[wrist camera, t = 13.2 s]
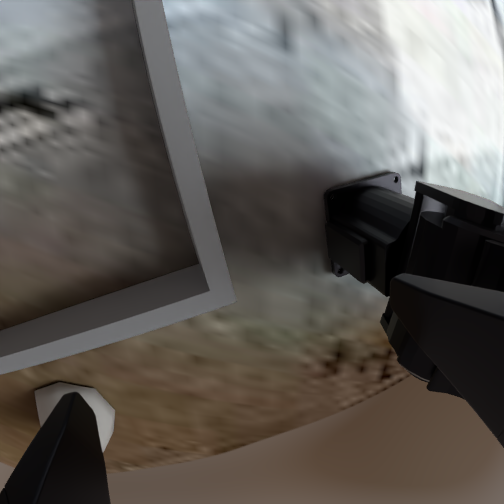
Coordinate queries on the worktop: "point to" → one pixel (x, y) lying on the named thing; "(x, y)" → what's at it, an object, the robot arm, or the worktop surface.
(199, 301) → the grey rimmed tray
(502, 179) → the worktop surface
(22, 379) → the worktop surface
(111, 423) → the flask
